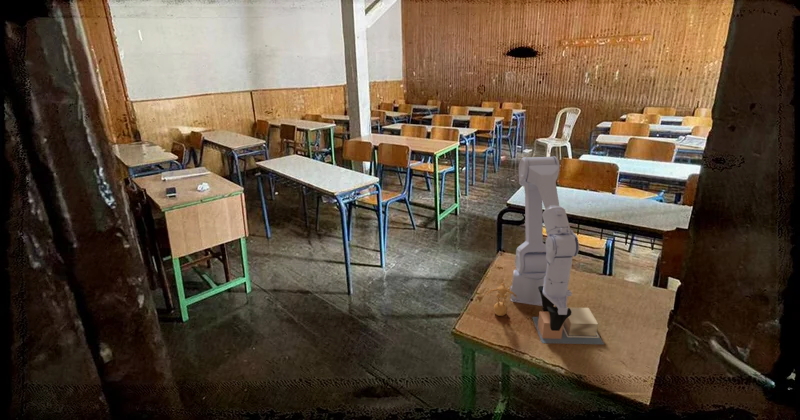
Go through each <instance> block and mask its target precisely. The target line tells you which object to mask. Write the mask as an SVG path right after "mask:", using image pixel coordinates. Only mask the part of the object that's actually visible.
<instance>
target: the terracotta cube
mask: <svg viewBox="0 0 800 420" xmlns="http://www.w3.org/2000/svg"><path fill="white" fill-rule="evenodd" d="M538 313H539V314H538V317H539V319H538V329H539V331H540V334H541V337H542V338H550V339H561V337H562V331H563V325H564V323H563V325H562V327H561V328H560V330H559V331H552V330H551V327H550V315H549V312H543V310H542V311H541V310H540V311H539V312H538Z"/></svg>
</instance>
